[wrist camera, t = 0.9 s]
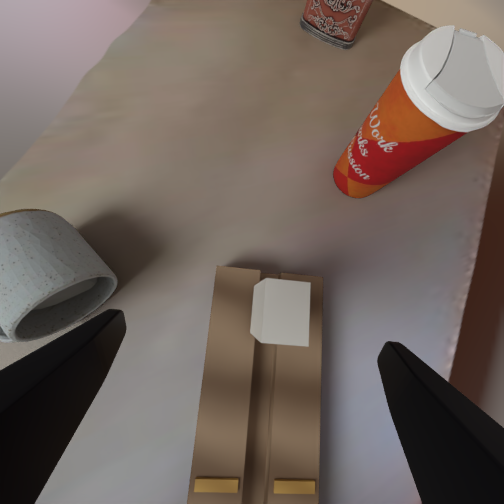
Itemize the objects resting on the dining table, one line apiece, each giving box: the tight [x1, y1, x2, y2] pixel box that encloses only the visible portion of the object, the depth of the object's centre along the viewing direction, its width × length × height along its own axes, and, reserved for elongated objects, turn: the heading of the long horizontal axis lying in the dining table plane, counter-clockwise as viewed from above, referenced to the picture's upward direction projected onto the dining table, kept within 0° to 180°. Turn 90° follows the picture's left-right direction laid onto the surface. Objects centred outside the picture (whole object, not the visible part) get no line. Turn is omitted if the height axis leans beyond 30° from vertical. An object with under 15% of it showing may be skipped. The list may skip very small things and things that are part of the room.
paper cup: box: [333, 25, 504, 198], centre depth 22 cm, size 8×8×14 cm
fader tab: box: [250, 278, 311, 347], centre depth 19 cm, size 4×3×8 cm
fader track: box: [187, 266, 323, 504], centre depth 21 cm, size 21×10×3 cm, turn 175°
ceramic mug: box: [0, 209, 118, 343], centre depth 19 cm, size 11×8×8 cm
